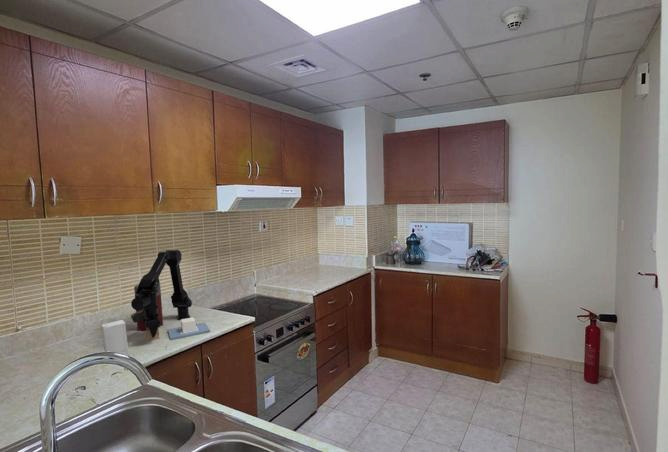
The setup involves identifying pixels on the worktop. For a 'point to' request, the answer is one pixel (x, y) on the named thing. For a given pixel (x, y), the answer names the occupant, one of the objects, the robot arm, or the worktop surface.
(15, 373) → the worktop surface
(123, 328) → the skincare box
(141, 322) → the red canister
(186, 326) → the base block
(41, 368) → the worktop surface
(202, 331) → the board
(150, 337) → the walnut block
